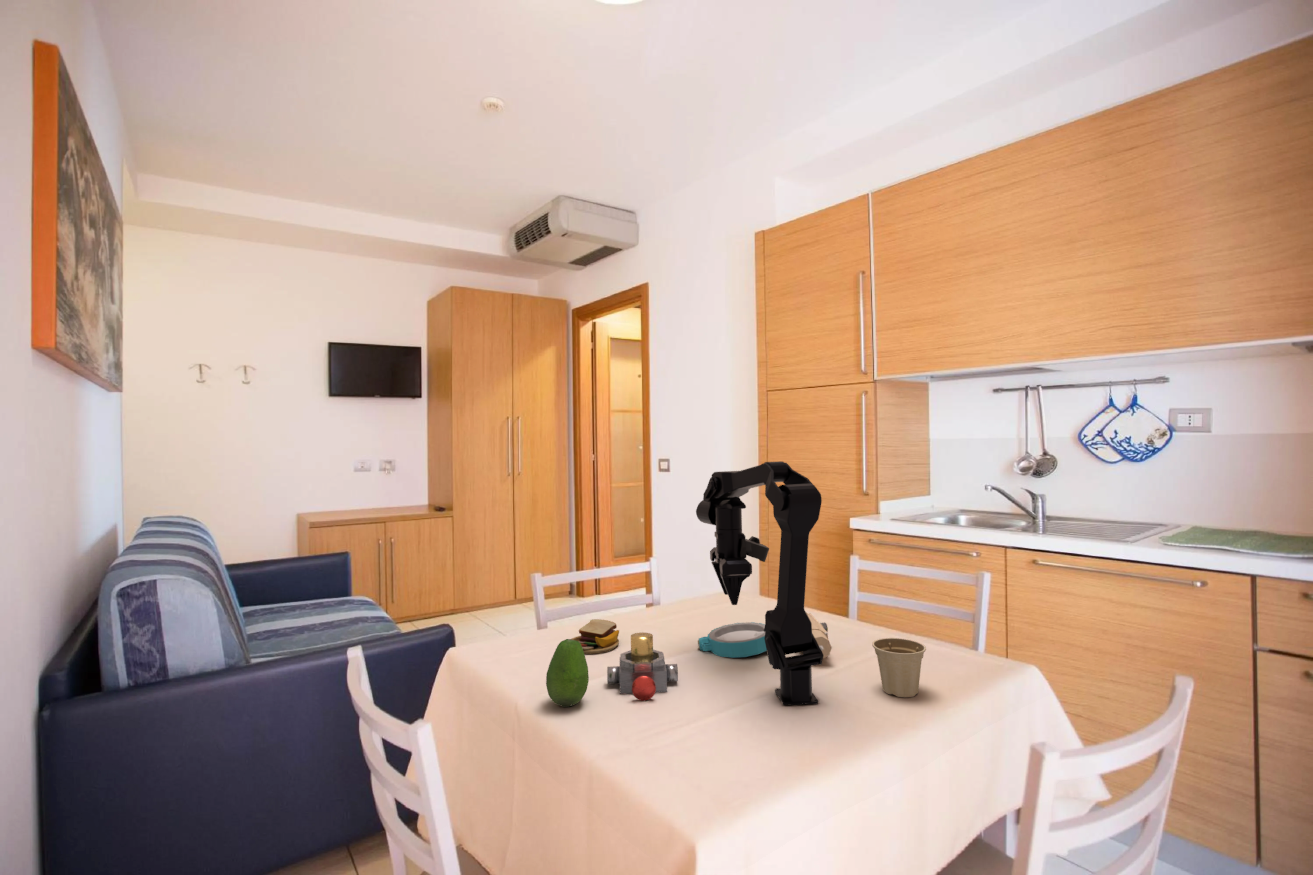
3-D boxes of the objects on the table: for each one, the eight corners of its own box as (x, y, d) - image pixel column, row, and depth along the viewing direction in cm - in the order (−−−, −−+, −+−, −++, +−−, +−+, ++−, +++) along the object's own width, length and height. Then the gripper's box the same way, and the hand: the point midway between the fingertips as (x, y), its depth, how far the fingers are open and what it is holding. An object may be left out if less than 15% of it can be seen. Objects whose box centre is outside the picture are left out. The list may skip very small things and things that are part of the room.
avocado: (593, 709, 111) (591, 642, 111) (549, 716, 109) (547, 647, 109) (585, 693, 118) (584, 630, 119) (544, 698, 116) (542, 634, 116)
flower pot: (862, 686, 118) (861, 641, 119) (900, 678, 122) (898, 634, 122) (899, 705, 110) (898, 656, 110) (938, 695, 113) (937, 648, 114)
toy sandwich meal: (554, 650, 145) (554, 629, 145) (593, 634, 156) (592, 616, 156) (595, 659, 138) (594, 638, 138) (632, 643, 149) (632, 623, 149)
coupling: (654, 667, 120) (653, 638, 120) (631, 668, 120) (630, 639, 120) (652, 659, 125) (652, 631, 125) (631, 660, 124) (630, 632, 124)
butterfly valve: (703, 683, 129) (846, 665, 128) (698, 650, 129) (841, 632, 129) (697, 642, 156) (816, 627, 155) (694, 615, 156) (812, 600, 155)
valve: (681, 698, 115) (680, 669, 115) (606, 702, 114) (606, 672, 114) (675, 673, 127) (674, 647, 127) (608, 676, 126) (607, 649, 126)
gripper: (775, 533, 127) (777, 609, 127) (756, 521, 145) (757, 588, 145) (721, 534, 126) (723, 611, 126) (709, 523, 145) (710, 590, 145)
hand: (730, 599), depth 135 cm, fingers open, 9 cm apart
